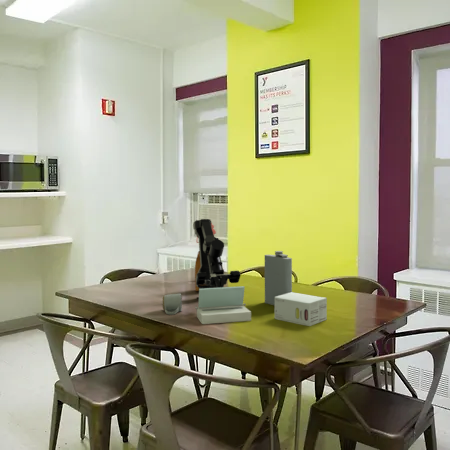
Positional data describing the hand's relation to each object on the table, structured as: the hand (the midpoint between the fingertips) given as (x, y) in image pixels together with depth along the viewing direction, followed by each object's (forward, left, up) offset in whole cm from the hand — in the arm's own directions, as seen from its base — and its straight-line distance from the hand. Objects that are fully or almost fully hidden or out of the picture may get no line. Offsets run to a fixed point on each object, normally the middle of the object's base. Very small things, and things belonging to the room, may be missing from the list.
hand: (221, 294), depth 194 cm
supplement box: (+27, +18, -10) cm, 34 cm away
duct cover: (0, 0, -2) cm, 2 cm away
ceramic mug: (-21, -9, -10) cm, 25 cm away
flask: (+5, +31, -10) cm, 33 cm away
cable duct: (+3, -2, -9) cm, 10 cm away
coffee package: (-43, +32, -10) cm, 54 cm away
